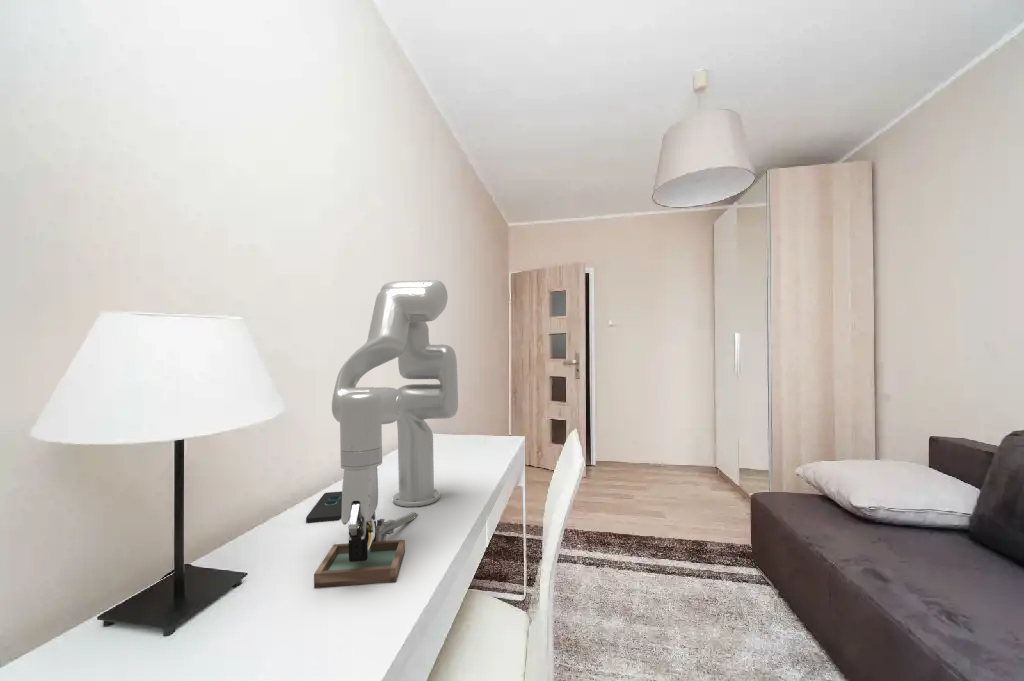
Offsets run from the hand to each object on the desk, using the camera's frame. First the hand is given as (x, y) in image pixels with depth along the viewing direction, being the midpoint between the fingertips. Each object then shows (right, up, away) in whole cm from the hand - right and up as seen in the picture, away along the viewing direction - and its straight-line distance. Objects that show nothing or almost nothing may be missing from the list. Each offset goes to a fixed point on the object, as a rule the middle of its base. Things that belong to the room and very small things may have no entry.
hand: (363, 550), depth 85 cm
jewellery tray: (0, -3, 0) cm, 3 cm away
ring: (0, -2, 0) cm, 2 cm away
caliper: (+3, -4, +17) cm, 17 cm away
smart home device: (-19, -5, +33) cm, 39 cm away
